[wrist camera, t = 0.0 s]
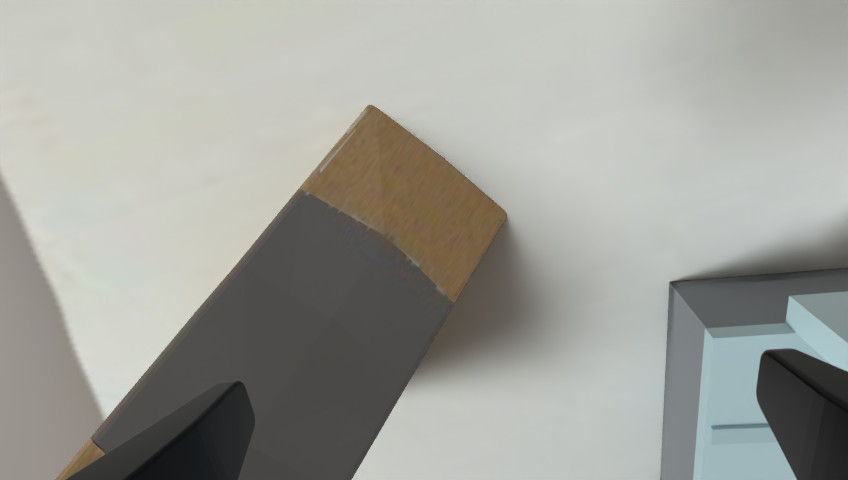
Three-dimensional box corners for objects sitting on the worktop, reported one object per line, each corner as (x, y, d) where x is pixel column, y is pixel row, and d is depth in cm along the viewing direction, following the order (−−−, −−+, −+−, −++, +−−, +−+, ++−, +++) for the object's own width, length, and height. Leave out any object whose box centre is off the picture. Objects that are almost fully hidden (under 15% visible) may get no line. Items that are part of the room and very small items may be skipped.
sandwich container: (516, 213, 23) (581, 479, 9) (336, 404, 28) (205, 753, 14) (370, 94, 21) (179, 193, 8) (210, 319, 27) (-71, 616, 13)
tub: (830, 492, 27) (886, 563, 23) (659, 495, 28) (687, 564, 25) (880, 265, 22) (963, 310, 18) (669, 282, 23) (706, 328, 19)
